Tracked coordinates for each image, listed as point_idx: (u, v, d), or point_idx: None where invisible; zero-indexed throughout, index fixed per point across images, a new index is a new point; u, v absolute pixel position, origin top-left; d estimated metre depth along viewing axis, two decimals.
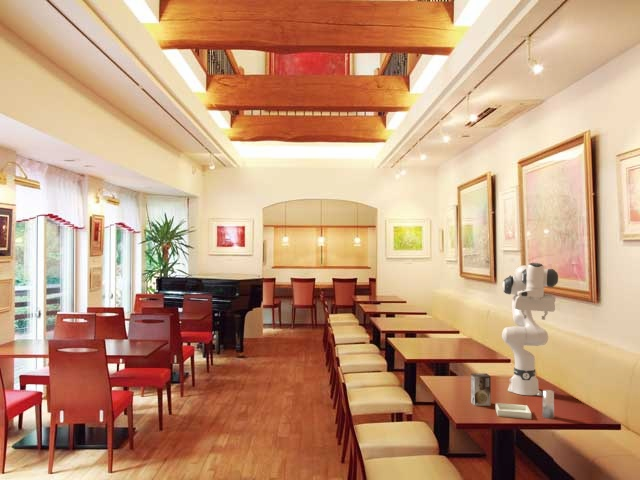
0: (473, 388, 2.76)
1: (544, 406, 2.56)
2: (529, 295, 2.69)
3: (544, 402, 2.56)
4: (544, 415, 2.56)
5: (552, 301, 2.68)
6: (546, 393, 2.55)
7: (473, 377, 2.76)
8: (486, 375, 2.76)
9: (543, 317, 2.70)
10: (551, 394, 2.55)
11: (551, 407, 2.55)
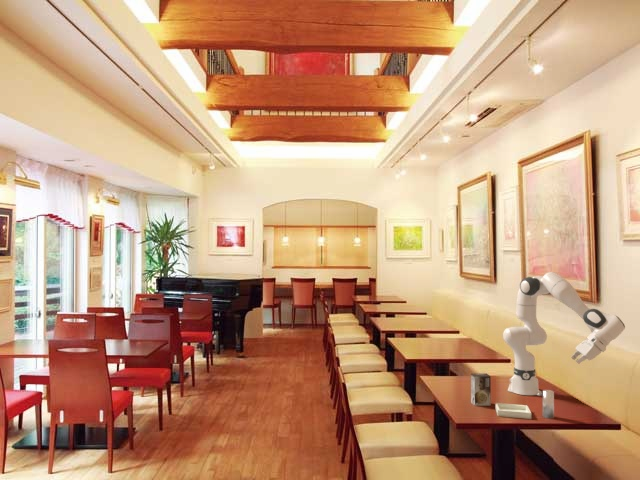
0: (473, 388, 2.76)
1: (544, 406, 2.56)
2: None
3: (544, 402, 2.56)
4: (544, 415, 2.56)
5: None
6: (546, 393, 2.55)
7: (473, 377, 2.76)
8: (486, 375, 2.76)
9: None
10: (551, 394, 2.55)
11: (551, 407, 2.55)
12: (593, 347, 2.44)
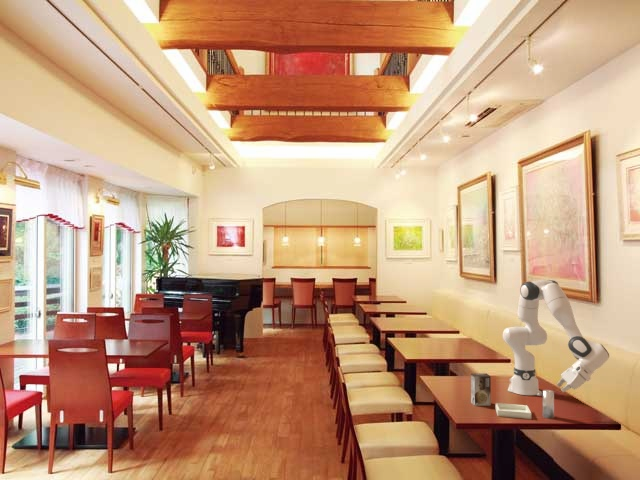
0: (473, 388, 2.76)
1: (544, 406, 2.56)
2: None
3: (544, 402, 2.56)
4: (544, 415, 2.56)
5: None
6: (546, 393, 2.55)
7: (473, 377, 2.76)
8: (486, 375, 2.76)
9: None
10: (551, 394, 2.55)
11: (551, 407, 2.55)
12: (578, 376, 2.46)
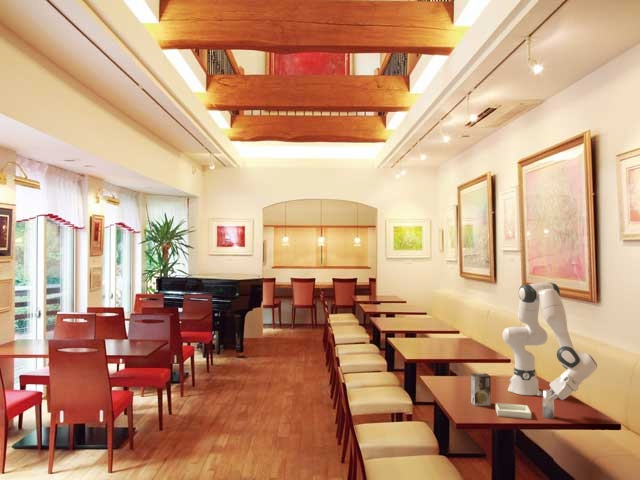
0: (473, 388, 2.76)
1: (544, 406, 2.56)
2: None
3: (544, 402, 2.56)
4: (544, 415, 2.56)
5: None
6: (546, 393, 2.55)
7: (473, 377, 2.76)
8: (486, 375, 2.76)
9: None
10: (551, 394, 2.55)
11: (551, 407, 2.55)
12: (565, 387, 2.47)
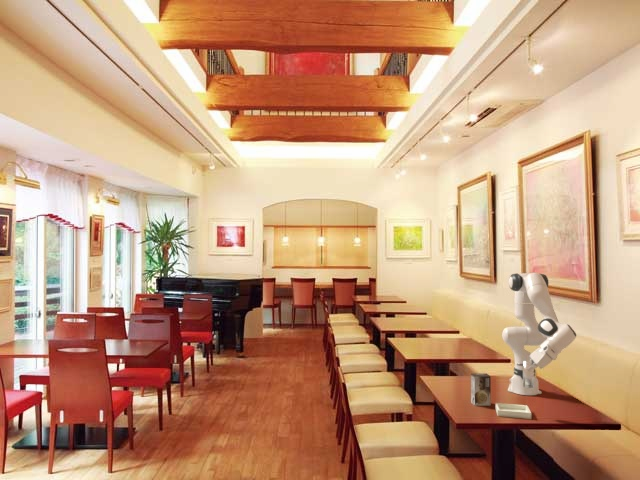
0: (473, 388, 2.76)
1: (524, 376, 2.59)
2: None
3: (524, 372, 2.59)
4: (524, 385, 2.59)
5: None
6: (526, 363, 2.58)
7: (473, 377, 2.76)
8: (486, 375, 2.76)
9: None
10: (531, 363, 2.58)
11: (531, 376, 2.58)
12: (544, 356, 2.50)
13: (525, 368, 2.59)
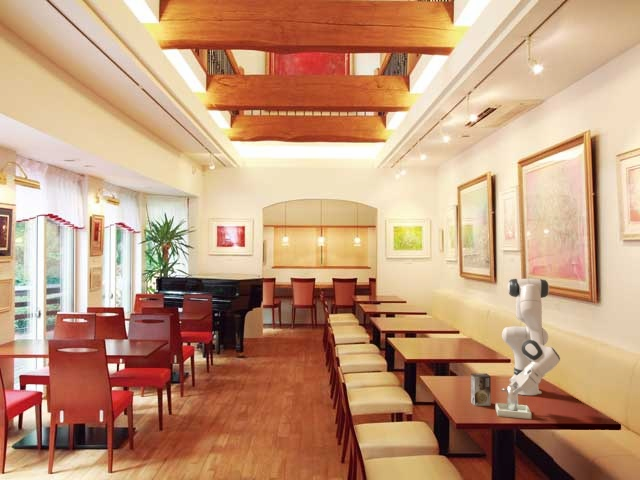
0: (473, 388, 2.76)
1: (508, 401, 2.61)
2: None
3: (508, 397, 2.61)
4: (508, 410, 2.61)
5: None
6: (510, 388, 2.60)
7: (473, 377, 2.76)
8: (486, 375, 2.76)
9: None
10: (515, 389, 2.59)
11: (515, 402, 2.59)
12: (528, 379, 2.51)
13: (509, 394, 2.61)
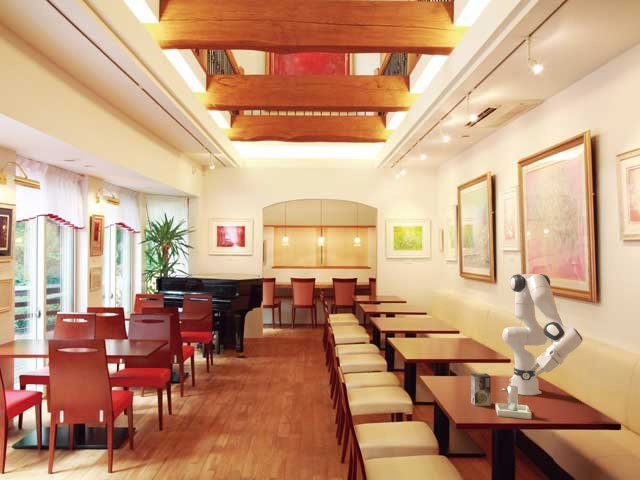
0: (473, 388, 2.76)
1: (508, 401, 2.61)
2: None
3: (508, 397, 2.61)
4: (508, 410, 2.61)
5: None
6: (510, 388, 2.60)
7: (473, 377, 2.76)
8: (486, 375, 2.76)
9: None
10: (515, 389, 2.60)
11: (515, 402, 2.59)
12: (550, 360, 2.49)
13: (509, 394, 2.61)
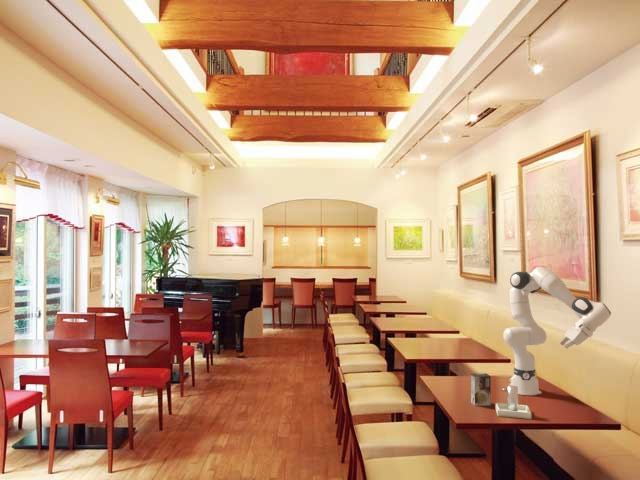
0: (473, 388, 2.76)
1: (508, 401, 2.61)
2: None
3: (508, 397, 2.61)
4: (508, 410, 2.61)
5: None
6: (510, 388, 2.60)
7: (473, 377, 2.76)
8: (486, 375, 2.76)
9: None
10: (515, 389, 2.59)
11: (515, 402, 2.59)
12: (580, 333, 2.57)
13: (509, 394, 2.61)
